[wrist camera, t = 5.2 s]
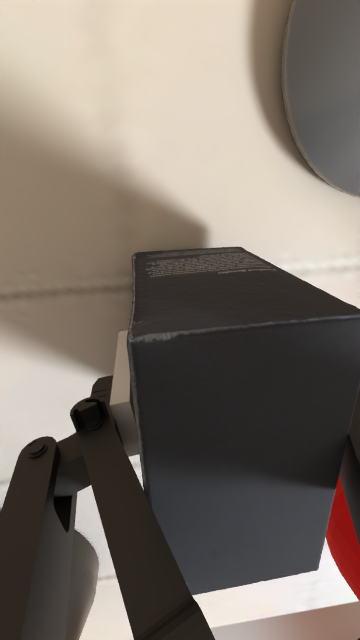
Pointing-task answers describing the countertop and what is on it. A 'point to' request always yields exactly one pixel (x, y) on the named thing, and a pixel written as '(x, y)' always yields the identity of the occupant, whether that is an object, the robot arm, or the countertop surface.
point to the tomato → (344, 540)
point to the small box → (239, 410)
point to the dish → (324, 88)
